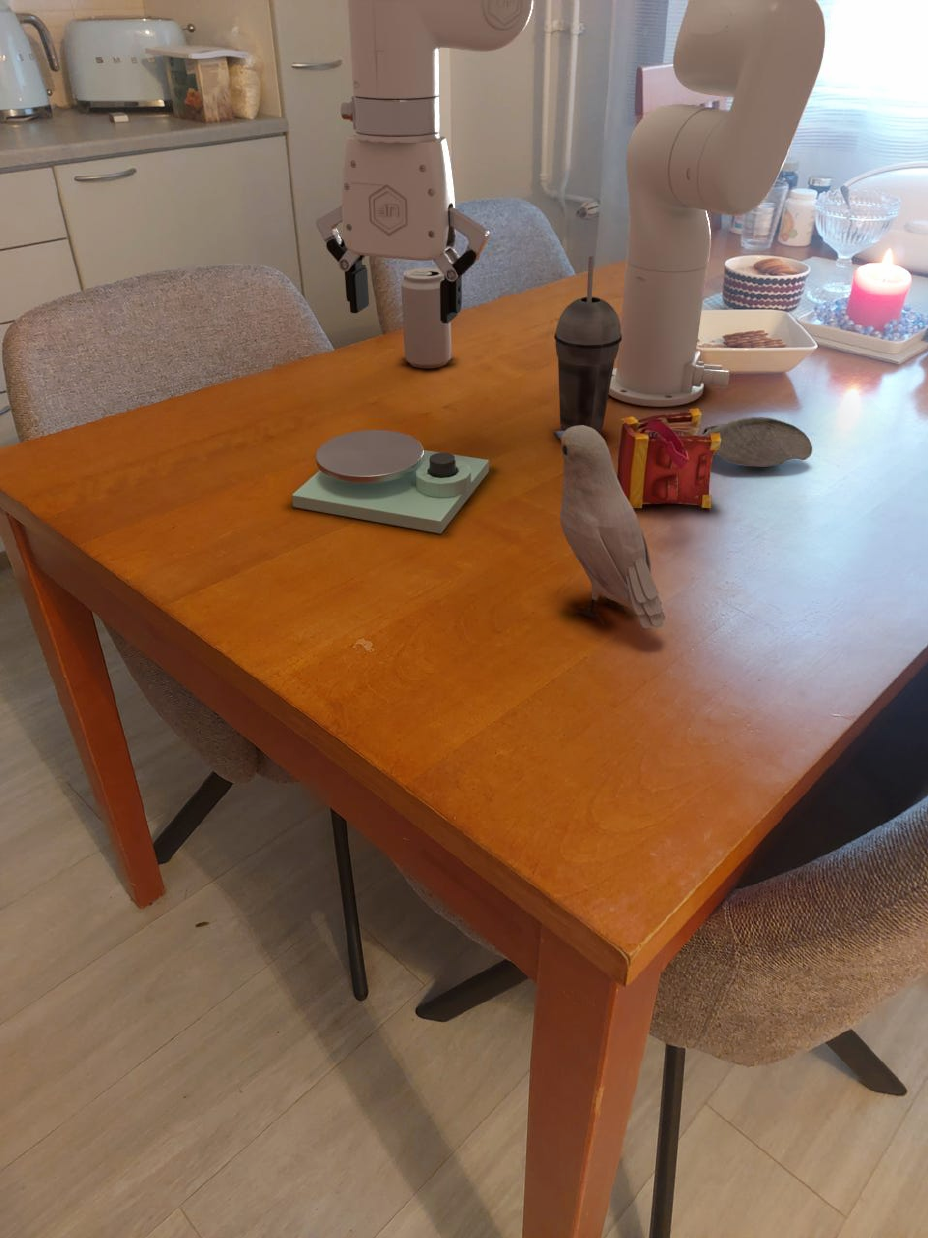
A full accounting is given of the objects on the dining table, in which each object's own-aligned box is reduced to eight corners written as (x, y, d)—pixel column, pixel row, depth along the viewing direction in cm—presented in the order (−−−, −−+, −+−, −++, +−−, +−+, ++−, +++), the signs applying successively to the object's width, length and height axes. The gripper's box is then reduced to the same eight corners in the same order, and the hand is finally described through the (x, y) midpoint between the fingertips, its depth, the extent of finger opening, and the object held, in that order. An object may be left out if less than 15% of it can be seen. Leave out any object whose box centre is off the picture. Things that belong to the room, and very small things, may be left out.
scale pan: (440, 444, 94) (439, 437, 94) (397, 490, 86) (397, 483, 85) (346, 430, 97) (345, 424, 97) (296, 473, 89) (295, 466, 88)
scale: (491, 472, 95) (491, 446, 94) (443, 534, 85) (442, 506, 83) (354, 450, 100) (352, 425, 98) (293, 507, 90) (289, 480, 88)
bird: (567, 564, 80) (577, 405, 72) (678, 636, 71) (706, 464, 63) (525, 582, 78) (530, 420, 69) (634, 658, 69) (656, 484, 60)
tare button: (459, 470, 90) (459, 454, 89) (450, 481, 88) (449, 465, 87) (435, 466, 91) (435, 450, 90) (425, 477, 89) (425, 461, 88)
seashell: (800, 446, 100) (810, 403, 97) (814, 479, 93) (825, 435, 90) (692, 441, 101) (698, 399, 98) (698, 474, 94) (705, 430, 91)
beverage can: (450, 370, 120) (448, 278, 113) (403, 370, 121) (398, 278, 114) (452, 354, 126) (450, 265, 119) (406, 354, 126) (402, 265, 119)
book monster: (698, 477, 93) (720, 541, 84) (611, 479, 94) (624, 543, 85) (712, 381, 87) (738, 440, 77) (618, 383, 87) (633, 442, 78)
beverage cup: (618, 427, 104) (635, 247, 93) (605, 453, 99) (622, 265, 87) (557, 420, 106) (567, 243, 95) (542, 445, 101) (550, 260, 89)
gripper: (290, 120, 79) (309, 316, 89) (475, 128, 74) (473, 334, 84) (328, 111, 85) (341, 296, 94) (502, 119, 80) (497, 312, 90)
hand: (403, 314), depth 89 cm, fingers open, 9 cm apart
